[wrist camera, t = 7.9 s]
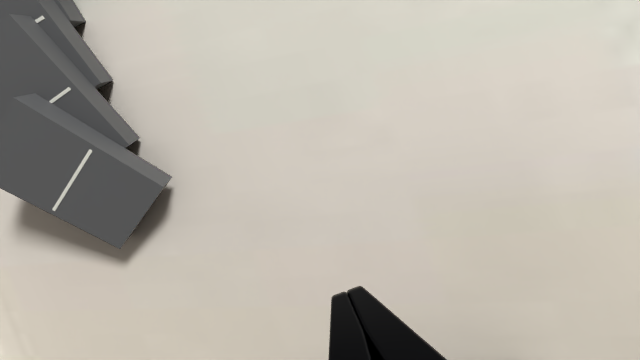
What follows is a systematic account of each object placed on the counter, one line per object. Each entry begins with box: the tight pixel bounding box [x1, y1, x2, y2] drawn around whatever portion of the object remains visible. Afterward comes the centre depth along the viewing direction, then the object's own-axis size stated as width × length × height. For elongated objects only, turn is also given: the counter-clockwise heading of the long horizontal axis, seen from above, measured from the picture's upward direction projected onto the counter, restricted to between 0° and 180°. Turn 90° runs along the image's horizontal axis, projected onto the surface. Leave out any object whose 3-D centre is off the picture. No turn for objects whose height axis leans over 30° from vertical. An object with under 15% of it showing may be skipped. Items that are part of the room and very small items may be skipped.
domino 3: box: [0, 93, 172, 249], centre depth 19 cm, size 2×5×8 cm
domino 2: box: [0, 14, 140, 148], centre depth 19 cm, size 2×5×8 cm
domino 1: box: [0, 0, 113, 89], centre depth 19 cm, size 2×5×8 cm
